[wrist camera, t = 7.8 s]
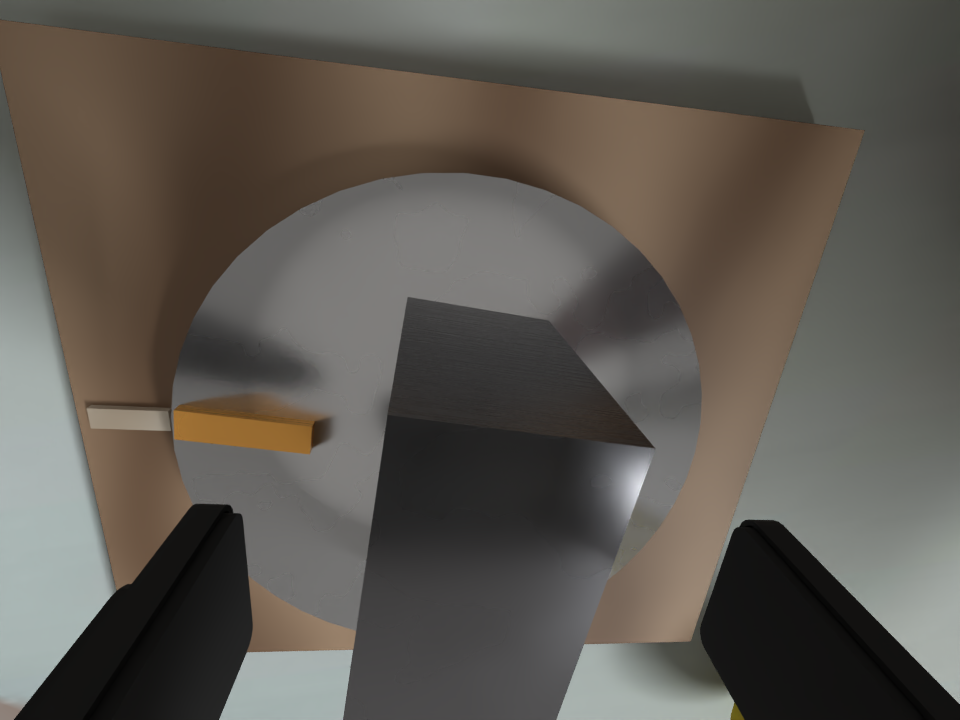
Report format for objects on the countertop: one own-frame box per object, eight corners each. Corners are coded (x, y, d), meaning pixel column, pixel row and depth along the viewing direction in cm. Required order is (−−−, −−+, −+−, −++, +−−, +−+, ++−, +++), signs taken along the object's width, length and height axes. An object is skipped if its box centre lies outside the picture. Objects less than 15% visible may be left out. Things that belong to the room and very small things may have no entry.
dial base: (820, 134, 14) (871, 129, 12) (672, 609, 20) (693, 646, 18) (43, 38, 11) (-20, 15, 10) (154, 616, 17) (127, 660, 16)
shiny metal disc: (756, 233, 13) (1104, 295, 6) (607, 624, 17) (714, 894, 11) (186, 111, 10) (-219, 3, 4) (191, 599, 15) (12, 921, 9)
